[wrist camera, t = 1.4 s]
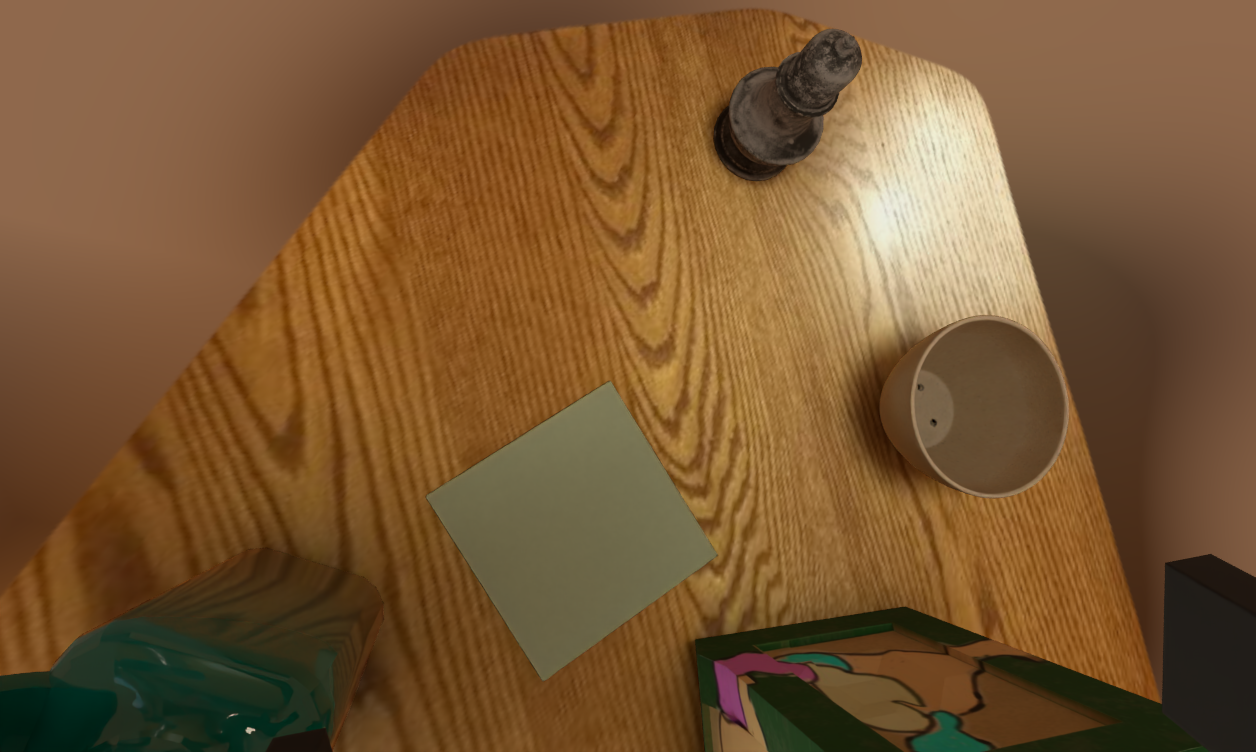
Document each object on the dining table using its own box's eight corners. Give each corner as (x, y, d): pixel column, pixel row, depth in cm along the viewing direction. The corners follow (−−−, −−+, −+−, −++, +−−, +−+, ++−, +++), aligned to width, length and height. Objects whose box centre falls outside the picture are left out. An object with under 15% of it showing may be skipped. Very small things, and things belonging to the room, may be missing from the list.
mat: (425, 495, 40) (425, 496, 39) (608, 380, 42) (610, 380, 42) (542, 679, 40) (543, 682, 40) (715, 554, 43) (718, 555, 42)
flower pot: (814, 385, 45) (878, 376, 38) (930, 305, 48) (1011, 282, 41) (896, 520, 46) (974, 535, 39) (1007, 434, 48) (1100, 433, 41)
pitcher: (397, 584, 39) (316, 764, 17) (336, 745, 37) (168, 1152, 16) (209, 527, 37) (-137, 650, 16) (138, 694, 36) (-344, 1075, 14)
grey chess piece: (718, 83, 45) (806, -40, 34) (803, 109, 47) (917, 0, 35) (701, 171, 45) (785, 77, 33) (788, 196, 46) (900, 113, 34)
